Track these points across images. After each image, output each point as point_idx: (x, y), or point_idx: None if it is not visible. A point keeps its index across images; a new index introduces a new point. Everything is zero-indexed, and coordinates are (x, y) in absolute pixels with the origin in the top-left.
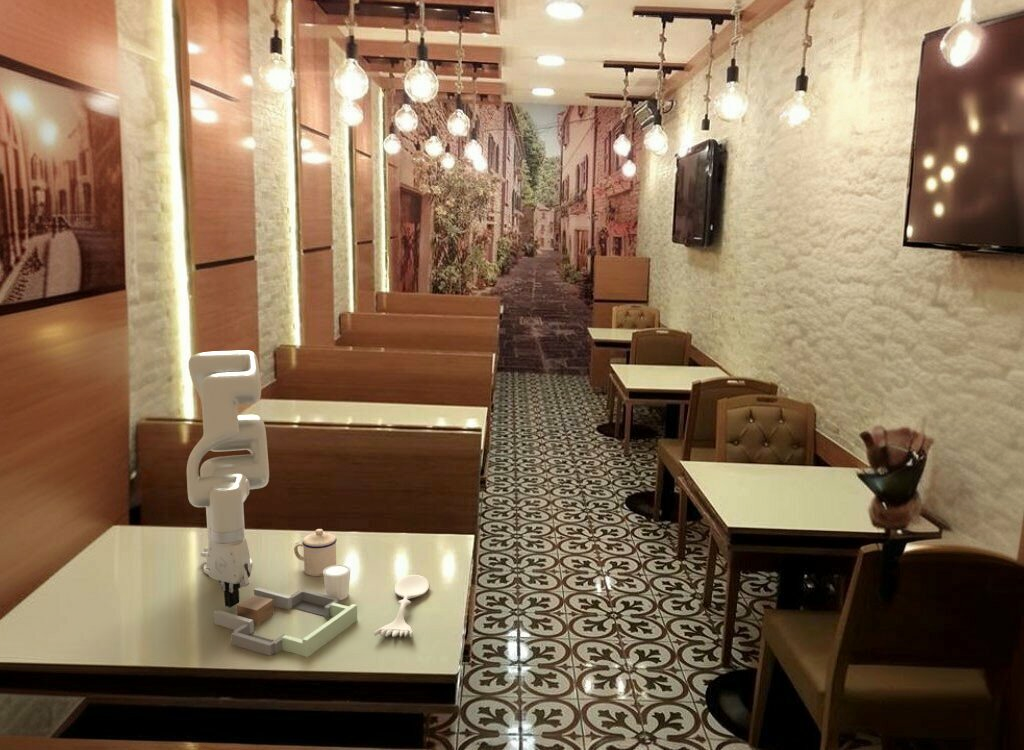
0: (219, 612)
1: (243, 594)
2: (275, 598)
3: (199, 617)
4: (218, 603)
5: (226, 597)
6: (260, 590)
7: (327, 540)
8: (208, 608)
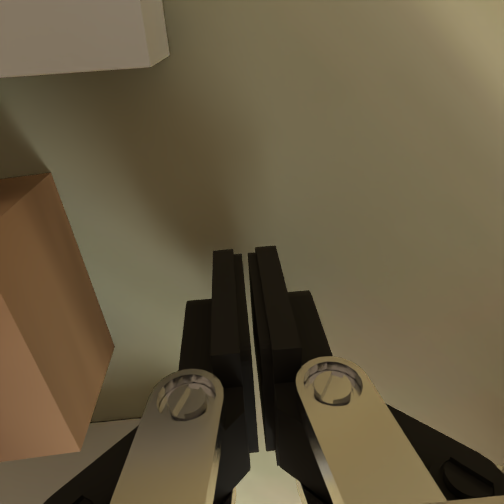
0: (54, 18)
1: None
2: (6, 484)
3: (409, 15)
4: (419, 278)
5: (260, 303)
6: None
7: None
8: (442, 187)
